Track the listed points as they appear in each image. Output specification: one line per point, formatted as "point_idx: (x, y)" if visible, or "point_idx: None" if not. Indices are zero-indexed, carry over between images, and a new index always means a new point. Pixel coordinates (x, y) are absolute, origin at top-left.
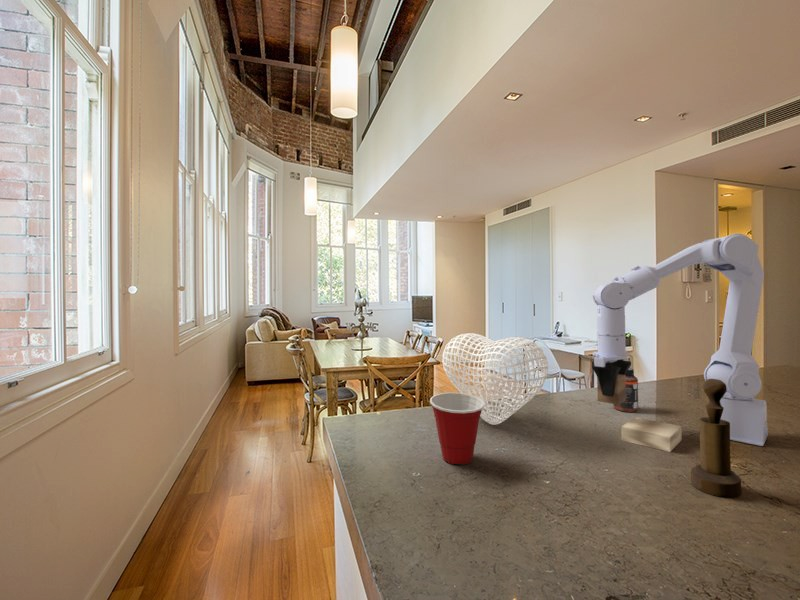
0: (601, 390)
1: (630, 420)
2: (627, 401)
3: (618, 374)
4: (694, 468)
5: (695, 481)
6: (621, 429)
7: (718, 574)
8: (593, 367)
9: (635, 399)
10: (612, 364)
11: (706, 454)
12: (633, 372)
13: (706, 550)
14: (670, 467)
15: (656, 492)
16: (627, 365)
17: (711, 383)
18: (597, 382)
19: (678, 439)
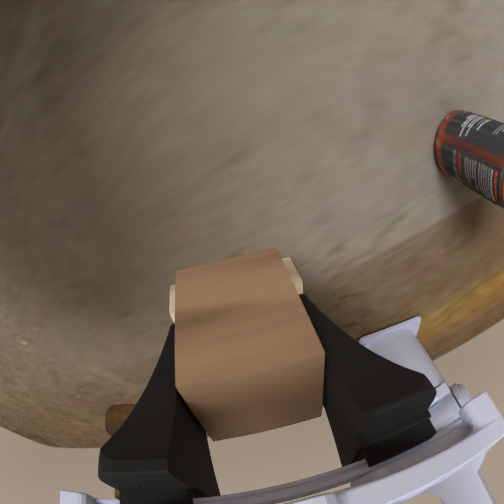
0: (167, 338)
1: None
2: (458, 172)
3: (312, 404)
4: (116, 425)
5: (106, 417)
6: (169, 306)
7: (19, 430)
8: (100, 460)
9: (473, 190)
10: (349, 431)
11: None
12: None
13: (29, 426)
14: (133, 381)
15: (51, 394)
16: (341, 463)
17: None
18: (175, 346)
19: None
